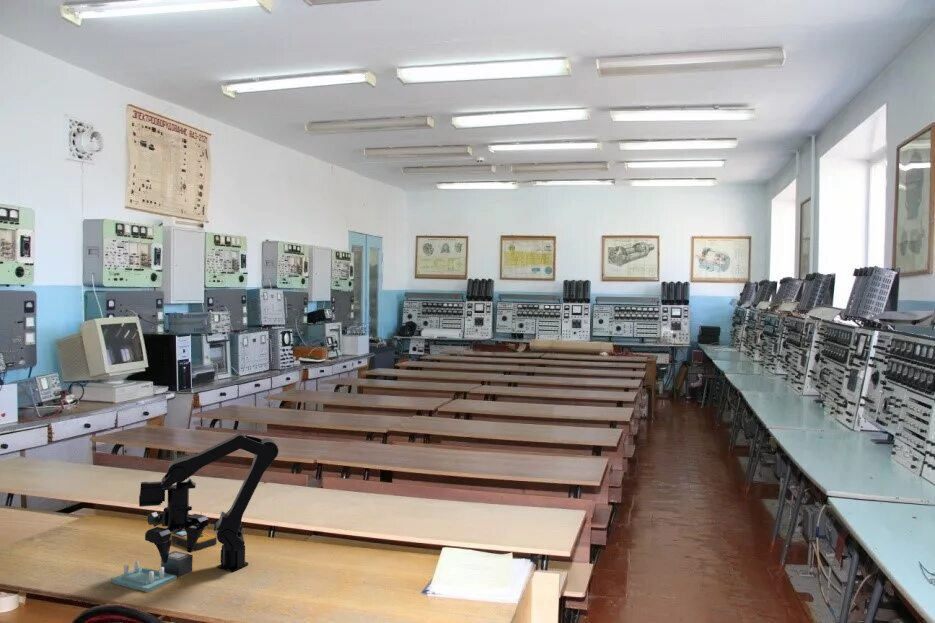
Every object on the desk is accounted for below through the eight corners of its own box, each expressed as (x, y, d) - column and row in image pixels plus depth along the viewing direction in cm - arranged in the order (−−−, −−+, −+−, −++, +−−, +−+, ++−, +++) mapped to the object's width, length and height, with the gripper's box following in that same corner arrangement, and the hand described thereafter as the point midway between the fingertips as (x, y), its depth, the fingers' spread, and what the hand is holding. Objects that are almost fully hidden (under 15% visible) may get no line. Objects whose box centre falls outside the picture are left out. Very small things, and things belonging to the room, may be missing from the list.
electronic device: (195, 553, 228) (195, 542, 228) (166, 542, 237) (166, 531, 237) (218, 545, 235) (218, 535, 235) (189, 535, 244) (189, 525, 243)
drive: (192, 572, 211) (192, 554, 211) (178, 577, 207) (179, 560, 206) (174, 567, 214) (174, 550, 214) (160, 573, 210) (161, 555, 209)
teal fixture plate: (176, 579, 205) (176, 565, 205) (147, 592, 196) (147, 577, 196) (140, 570, 211) (140, 556, 211) (110, 582, 202) (110, 568, 202)
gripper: (182, 492, 222) (181, 543, 222) (131, 508, 205) (130, 563, 205) (210, 497, 217) (209, 549, 218) (160, 513, 200) (159, 570, 201)
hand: (177, 557), depth 210 cm, fingers open, 9 cm apart
